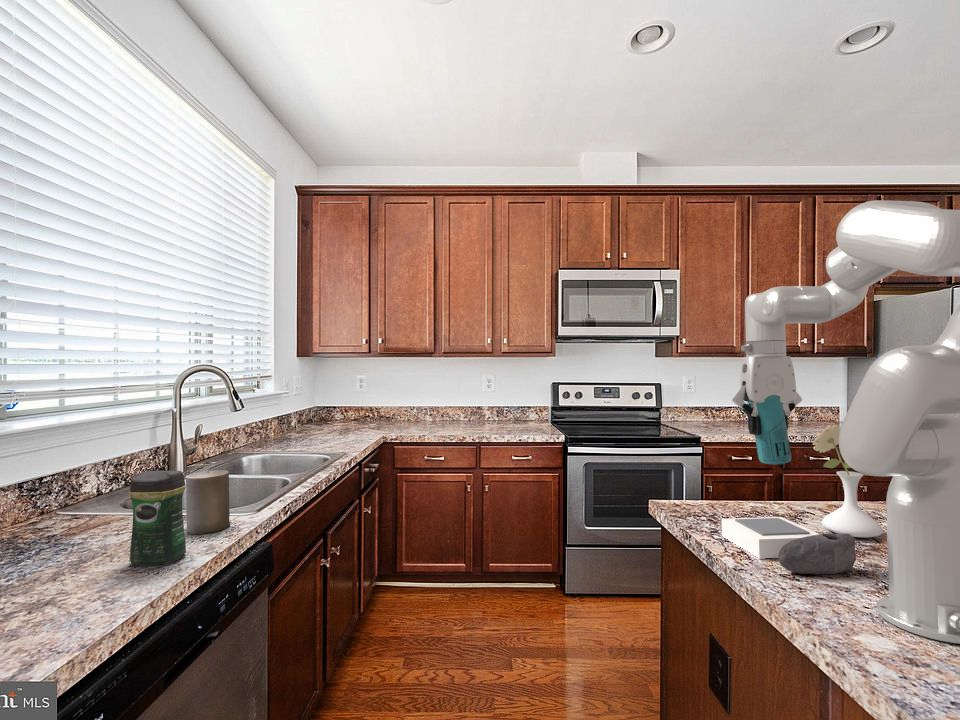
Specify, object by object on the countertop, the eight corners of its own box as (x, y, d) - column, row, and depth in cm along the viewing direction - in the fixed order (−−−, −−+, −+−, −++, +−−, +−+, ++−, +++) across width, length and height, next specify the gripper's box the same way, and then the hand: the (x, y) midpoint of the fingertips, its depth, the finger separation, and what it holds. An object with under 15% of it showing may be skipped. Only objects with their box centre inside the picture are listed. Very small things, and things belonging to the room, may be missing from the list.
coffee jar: (192, 552, 109) (192, 466, 109) (169, 567, 101) (169, 474, 101) (148, 553, 109) (148, 467, 109) (121, 567, 101) (121, 475, 101)
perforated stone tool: (787, 579, 90) (786, 540, 91) (770, 568, 96) (769, 531, 96) (869, 577, 91) (867, 539, 91) (847, 566, 96) (846, 529, 96)
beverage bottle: (779, 473, 104) (764, 379, 103) (751, 467, 110) (737, 378, 109) (801, 465, 106) (786, 373, 105) (773, 460, 112) (759, 373, 112)
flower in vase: (861, 526, 119) (858, 421, 120) (896, 542, 108) (892, 427, 108) (804, 525, 120) (801, 422, 121) (832, 541, 109) (829, 427, 110)
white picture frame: (826, 557, 100) (826, 535, 101) (759, 559, 100) (758, 537, 100) (781, 534, 114) (781, 515, 115) (722, 536, 114) (721, 516, 114)
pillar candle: (238, 523, 129) (237, 465, 130) (209, 535, 120) (208, 472, 120) (207, 522, 132) (206, 464, 132) (176, 533, 122) (175, 472, 123)
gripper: (737, 350, 104) (739, 437, 103) (816, 348, 105) (818, 435, 104) (718, 351, 111) (720, 433, 111) (792, 350, 112) (794, 431, 112)
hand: (768, 433), depth 108 cm, fingers closed on beverage bottle, 5 cm apart
